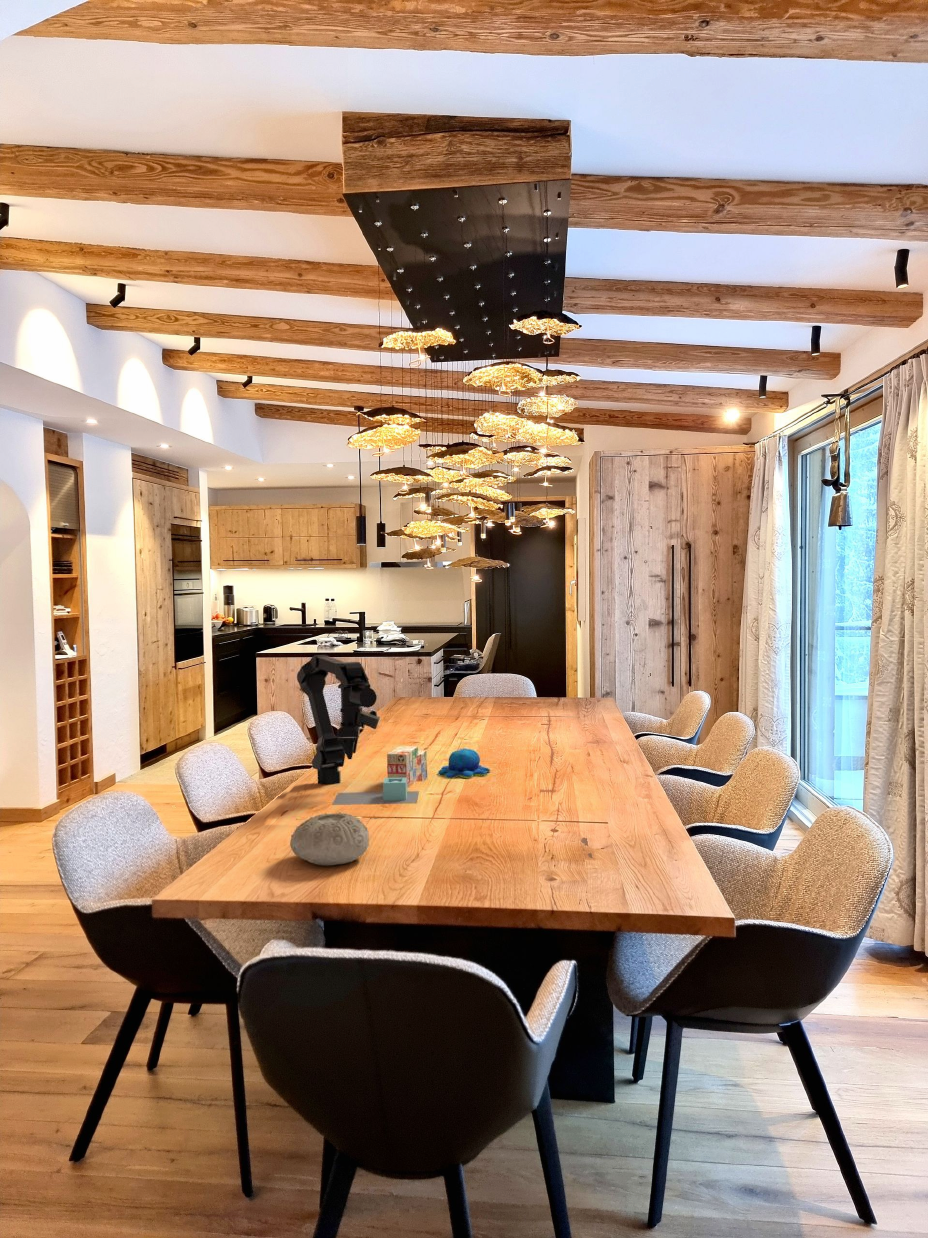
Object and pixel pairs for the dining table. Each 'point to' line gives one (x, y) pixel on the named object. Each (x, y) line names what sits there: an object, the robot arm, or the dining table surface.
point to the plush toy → (463, 765)
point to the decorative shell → (330, 839)
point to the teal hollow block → (395, 789)
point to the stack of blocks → (407, 764)
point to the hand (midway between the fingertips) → (351, 756)
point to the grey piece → (371, 798)
